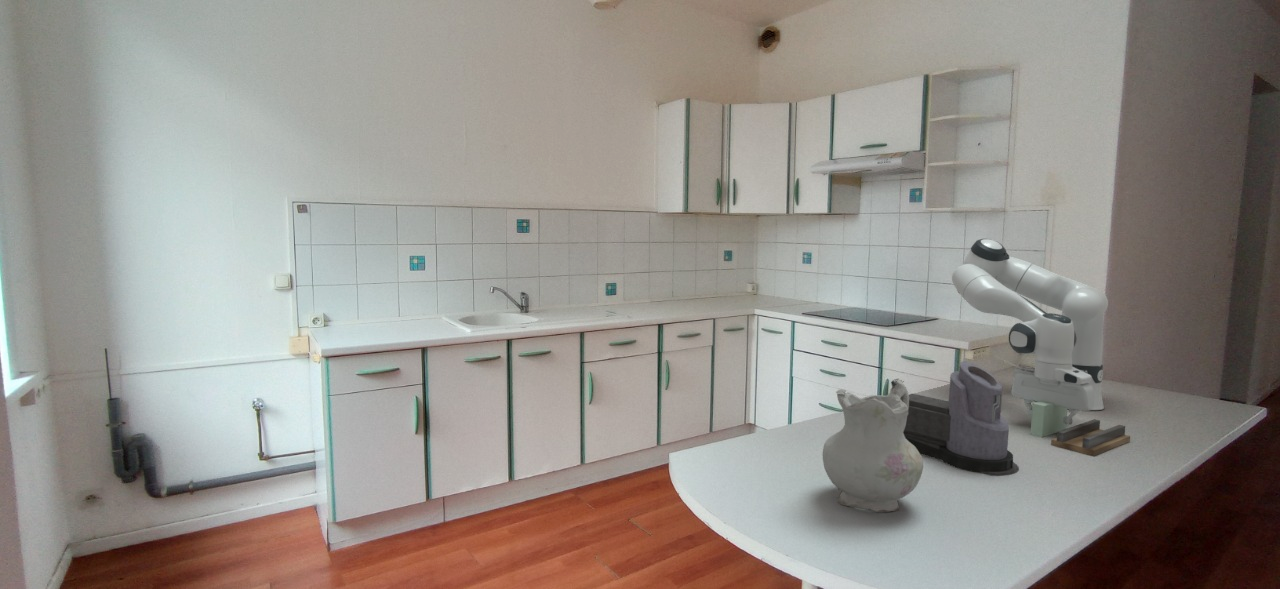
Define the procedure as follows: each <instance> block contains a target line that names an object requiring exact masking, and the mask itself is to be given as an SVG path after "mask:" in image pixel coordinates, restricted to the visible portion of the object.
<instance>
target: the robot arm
mask: <svg viewBox="0 0 1280 589" xmlns="http://www.w3.org/2000/svg"><path fill="white" fill-rule="evenodd" d="M951 282H952V283H953V286H954V287H955V289H956V291H957V293H958V294H959V295H960V296H961V297H962V298H963V299H964V300H965V302H966V303H968V304H969V305H970V306H971V307H973V309H975V310H977V311H979V312H981V313H983V314H991V315H1003V316H1007V317H1012V318H1015V319H1018V320H1019V321H1021V322H1017V323H1015V324H1014V325H1013V326H1012V327H1011V328H1010V330H1009V332H1008V343H1009V345H1010V347H1011V349H1012V350H1013V351H1014V352H1016V353H1018V354H1021V355H1034V356H1035V359H1034V367H1026V366H1022V365H1020V366H1019V367H1016V368H1014V370H1013V380H1012V386H1011V395H1012V396H1013V397H1014V398H1019V399H1024V400H1023V404H1024V405H1025V407H1026V410H1027V415H1028V416H1031V417H1032V406H1033V403H1034V402H1035V403H1036V402H1040V401H1045V402H1049V403H1053V405H1055V406H1060V407H1064V408H1067V410H1068V413H1070V414H1068V415H1067V416H1066V417H1064V421H1063V423H1065V424H1066V425H1072V423H1073V418H1074V417H1075V416H1076V415H1077V414H1078V411H1079V412H1084V413H1086V412H1089V411H1100V410H1104V409H1105V406H1104V402H1103V396H1102V385H1101V384H1102V381H1103V375H1104V374H1103V373H1104V371H1103V370H1104V365H1103V364H1102V361H1103V349H1104V320H1105V319H1104V317H1105V313H1106V311H1107V310H1108V307H1109V299H1108V297H1107V296H1106V293H1104V292H1103V291H1102V290H1101V289H1099V288H1095V287H1093V286H1091V285H1089V284H1086V283H1083V282H1080V281H1078V280H1074V279H1072V278H1069V277H1067V276H1063V275H1061V274H1059V273H1056V272H1053V271H1051V270H1048V269H1047V268H1044V267H1042V266H1039V265H1037V264H1035V263H1032V262H1030V261H1027V260H1024V259H1021V258H1017V257H1015V256H1014V257H1013V256H1010V255H1009V254H1008V251H1007V250H1006V248H1005V247H1004V245H1003V244H1002V243H1000V242H998V241H996V240H995V239H991V238H981V239H977V240H976V241H975V242H974V243H973V244H972V245H971V247H970V251H969V252H968V253H967V255H966V257H965V259H964V261H963V263H962V265H960V266H958V267H956V268H955V269H954V271H953V273H952V275H951ZM1027 298H1028V299H1027ZM1029 299H1030V300H1032V301H1034V302H1036V303H1038V304H1042V305H1045V306H1047V307H1049V308H1050V307H1051V308H1053V309H1056V310H1058V311H1061V314H1058V313H1051V312H1049V313H1048V312H1046V311H1045V310H1043V309H1042V308H1040V307H1039V306H1037V305H1036V304H1035V303H1033V302H1032V301H1030V300H1029Z"/></svg>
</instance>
